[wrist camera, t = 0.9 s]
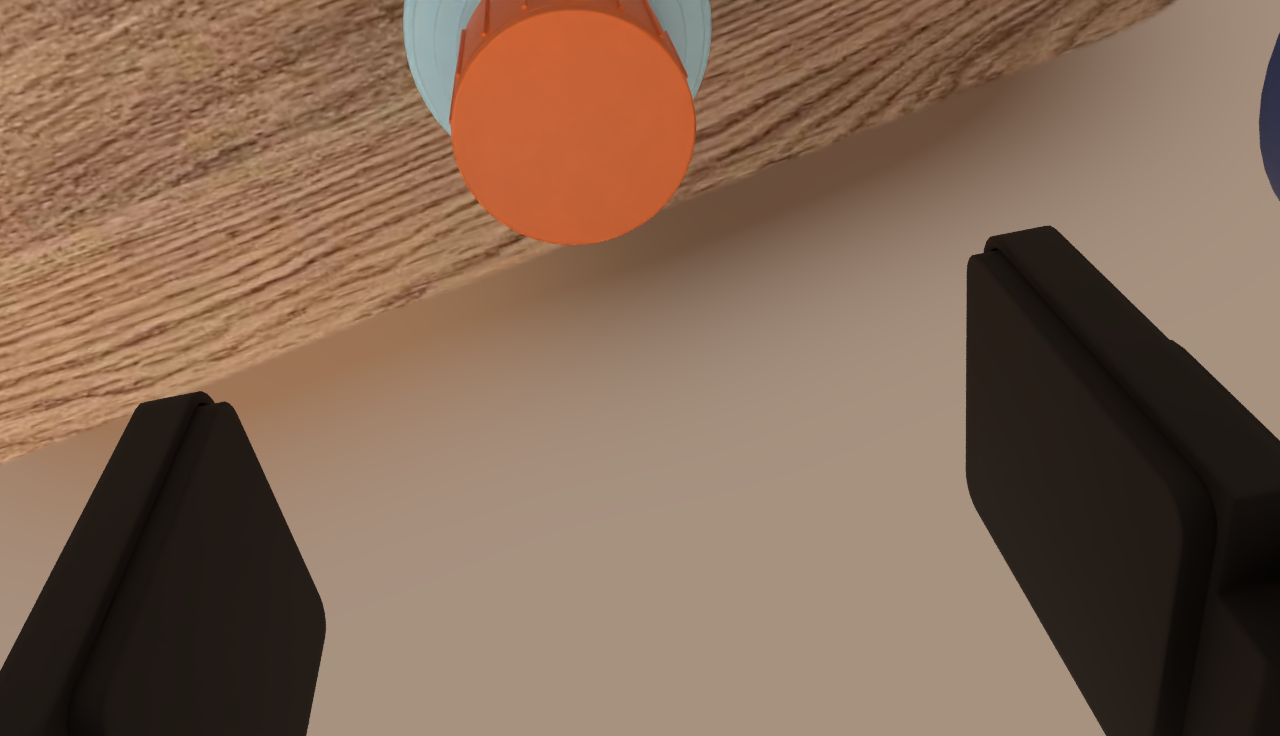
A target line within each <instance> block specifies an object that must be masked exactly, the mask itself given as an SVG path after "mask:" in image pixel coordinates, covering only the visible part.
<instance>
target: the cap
mask: <svg viewBox="0 0 1280 736" xmlns="http://www.w3.org/2000/svg"><path fill="white" fill-rule="evenodd" d="M686 78H688V75H687V72H686V70H685V68H684V66H683V64H682V62H681V60H680V58H679V55H678V53H677V51H676V49H675V47H674V45H673V43H672V41H671V39H670V37H669V34H668V32H667V30H666V31H663V29H662V26H661V24H660V22H659V20H658V18H657V17H656V15H655V13H654V11H653V10H652V8H651V6H650V4H649V2H648V0H481V2H480V3H479V5H478V6H477V7H476V9H475V10H474V12H473V14H472V16H471V18H470V20H469V22H468V23H467V26H466V29H465V30H464V29H462V31H461V36H460V44H459V51H458V59H457V66H456V72H455V78H454V85H453V93H452V100H451V108H450V115H449V124H451V138H452V146H453V151H454V156H455V159H456V162H457V165H458V168H459V171H460V173H461V175H462V177H463V179H464V181H465V183H466V185H467V187H468V188H469V190H470V191H471V193H472V194H473V195H474V197H475V198H476V199H477V201H478V202H479V203H480V204H481V205H482V206H483V207H484V208H485V210H487V211H488V212H489V213H490V214H491V215H492V216H493V217H495V218H496V219H497V220H498V221H500V222H501V223H503V224H504V225H506V226H507V227H509V228H511V229H513V230H515V231H517V232H518V233H520V234H522V235H525V236H528V237H530V238H533V239H536V240H539V241H544V242H548V243H553V244H563V245H584V244H591V243H598V242H602V241H606V240H610V239H613V238H616V237H618V236H621V235H623V234H626V233H628V232H629V231H631V230H633V229H635V228H637V227H639V226H640V225H642V224H643V223H645V222H646V221H648V220H649V219H650V218H652V217H653V216H654V215H655V214H656V213H657V212H658V211H659V210H660V209H662V208H663V207H664V205H665V204H666V203H667V202H668V201H669V200H670V198H671V197H672V196H673V195H674V193H675V192H676V190H677V189H678V187H679V186H680V184H681V182H682V180H683V178H684V176H685V174H686V172H687V170H688V167H689V164H690V161H691V158H692V155H693V150H694V145H695V136H696V116H695V108H694V103H693V98H692V94H691V91H690V88H689V86H688V83H687V80H686Z"/></svg>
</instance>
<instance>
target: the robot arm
mask: <svg viewBox="0 0 1280 736" xmlns="http://www.w3.org/2000/svg"><path fill="white" fill-rule="evenodd" d="M966 352H967V353H966V355H967V356H966V478H967V484H968V489H969V493H970V496H971V499H972V502H973V504H974V506H975V508H976V510H977V512H978V514H979V516H980V517H981V519H982V521H983V522H984V524H985V526H986V528H987V529H988V531H989V533H990V535H991V536H992V538H993V540H994V542H995V543H996V545H997V547H998V549H999V550H1000V552H1001V554H1002V555H1003V557H1004V559H1005V561H1006V562H1007V564H1008V566H1009V568H1010V569H1011V571H1012V573H1013V575H1014V576H1015V578H1016V580H1017V581H1018V583H1019V585H1020V587H1021V588H1022V590H1023V592H1024V594H1025V595H1026V597H1027V599H1028V601H1029V602H1030V604H1031V606H1032V608H1033V609H1034V611H1035V613H1036V614H1037V616H1038V618H1039V620H1040V622H1041V623H1042V625H1043V627H1044V629H1045V630H1046V632H1047V634H1048V635H1049V637H1050V639H1051V641H1052V642H1053V644H1054V646H1055V648H1056V649H1057V651H1058V653H1059V655H1060V656H1061V658H1062V660H1063V661H1064V663H1065V665H1066V667H1067V668H1068V670H1069V672H1070V674H1071V675H1072V677H1073V679H1074V681H1075V682H1076V684H1077V686H1078V688H1079V689H1080V691H1081V693H1082V694H1083V696H1084V698H1085V700H1086V701H1087V703H1088V705H1089V707H1090V708H1091V710H1092V712H1093V713H1094V715H1095V717H1096V718H1097V721H1098V722H1099V724H1100V726H1101V728H1102V729H1103V731H1104V733H1105V734H1106V736H1280V441H1279V440H1278V439H1277V438H1276V437H1275V436H1274V435H1273V434H1272V433H1271V432H1270V431H1269V430H1268V429H1267V428H1266V427H1265V426H1264V425H1263V424H1262V423H1261V422H1260V421H1259V420H1258V419H1257V418H1255V416H1254V415H1253V414H1252V413H1250V412H1249V411H1248V410H1247V409H1246V408H1245V407H1244V406H1243V405H1242V404H1241V403H1240V402H1239V401H1238V400H1237V399H1236V398H1235V397H1234V396H1233V395H1232V394H1231V393H1230V392H1229V391H1228V390H1227V389H1226V388H1225V387H1224V386H1223V385H1221V384H1220V383H1219V382H1218V381H1217V380H1216V379H1215V378H1214V377H1213V376H1212V375H1211V374H1210V373H1209V372H1208V371H1207V370H1206V369H1205V368H1204V367H1203V366H1202V365H1201V364H1200V363H1198V361H1197V360H1196V359H1195V358H1194V357H1193V356H1192V355H1190V354H1189V353H1188V352H1187V351H1186V350H1185V349H1184V348H1183V347H1181V346H1180V345H1178V344H1177V343H1176V342H1174V341H1173V340H1169V339H1168V338H1167V337H1166V336H1165V335H1164V334H1163V333H1162V332H1161V331H1160V330H1159V329H1158V328H1157V327H1156V326H1155V325H1154V324H1153V323H1152V322H1151V321H1150V320H1149V319H1148V318H1147V317H1146V316H1145V315H1144V314H1142V313H1141V312H1140V311H1139V310H1138V309H1137V308H1136V307H1135V306H1134V305H1133V304H1132V303H1131V302H1130V301H1129V300H1128V299H1127V298H1126V297H1125V296H1124V295H1123V294H1122V293H1121V292H1120V291H1119V290H1118V289H1117V288H1116V287H1115V286H1114V285H1113V284H1112V283H1111V282H1110V281H1109V280H1108V279H1107V278H1105V276H1103V275H1102V273H1100V272H1099V271H1098V270H1097V269H1096V268H1095V267H1094V266H1093V265H1092V264H1091V263H1090V262H1089V261H1088V260H1087V259H1086V258H1085V257H1084V256H1083V255H1082V254H1081V253H1080V252H1079V251H1078V250H1077V249H1076V248H1075V247H1074V246H1073V245H1072V244H1070V242H1069V241H1068V240H1066V239H1065V237H1063V236H1062V234H1060V233H1059V232H1058V231H1057V230H1056V229H1055V228H1053V227H1051V226H1043V227H1037V228H1033V229H1027V230H1022V231H1017V232H1012V233H1007V234H1002V235H997V236H992V237H990V238H989V239H988V240H987V242H986V245H985V248H984V253H982V254H977V255H972V256H971V257H970V258H969V261H968V265H967V341H966ZM325 633H326V621H325V612H324V608H323V603H322V601H321V598H320V595H319V593H318V591H317V589H316V587H315V584H314V582H313V580H312V578H311V576H310V573H309V571H308V569H307V567H306V565H305V563H304V560H303V558H302V556H301V554H300V551H299V549H298V547H297V545H296V543H295V541H294V538H293V536H292V534H291V532H290V529H289V527H288V525H287V523H286V521H285V518H284V516H283V514H282V512H281V510H280V507H279V505H278V503H277V501H276V499H275V496H274V494H273V492H272V490H271V488H270V485H269V483H268V481H267V479H266V476H265V474H264V472H263V470H262V468H261V465H260V463H259V461H258V459H257V457H256V454H255V452H254V450H253V448H252V446H251V444H250V441H249V439H248V437H247V435H246V432H245V430H244V428H243V426H242V424H241V422H240V419H239V417H238V415H237V413H236V412H235V410H234V408H233V407H232V406H231V405H230V404H229V403H227V402H220V403H214V401H213V400H212V399H211V397H210V396H209V395H208V394H206V393H204V392H202V391H199V392H194V393H189V394H184V395H179V396H174V397H168V398H163V399H158V400H153V401H148V402H144V403H141V404H140V405H139V406H138V407H137V408H136V409H135V411H134V413H133V415H132V417H131V419H130V421H129V423H128V425H127V427H126V429H125V431H124V433H123V435H122V436H121V438H120V440H119V442H118V444H117V446H116V448H115V450H114V452H113V454H112V456H111V458H110V460H109V462H108V464H107V465H106V467H105V470H104V471H103V473H102V475H101V477H100V479H99V481H98V483H97V485H96V487H95V489H94V491H93V493H92V495H91V496H90V498H89V500H88V503H87V504H86V506H85V508H84V510H83V512H82V514H81V516H80V518H79V520H78V522H77V524H76V526H75V528H74V529H73V531H72V533H71V535H70V537H69V539H68V541H67V543H66V545H65V547H64V549H63V551H62V553H61V554H60V557H59V558H58V560H57V562H56V565H55V566H54V568H53V570H52V572H51V574H50V576H49V578H48V580H47V582H46V583H45V585H44V587H43V590H42V591H41V593H40V595H39V597H38V599H37V601H36V603H35V605H34V607H33V609H32V611H31V613H30V615H29V616H28V619H27V620H26V622H25V624H24V626H23V628H22V630H21V632H20V634H19V636H18V638H17V640H16V641H15V644H14V645H13V647H12V649H11V651H10V653H9V655H8V657H7V659H6V661H5V663H4V665H3V667H2V669H1V671H0V736H306V734H307V728H308V724H309V718H310V713H311V708H312V702H313V697H314V692H315V687H316V681H317V677H318V671H319V666H320V661H321V656H322V650H323V644H324V640H325Z"/></svg>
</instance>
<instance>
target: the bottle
mask: <svg viewBox="0 0 1280 736" xmlns="http://www.w3.org/2000/svg"><path fill="white" fill-rule="evenodd" d="M480 2H481V0H405V2H404V15H403V32H404V44H405V50H406V54H407V59H408V64H409V67H410V70H411V73H412V76H413V79H414V81H415V84H416V86H417V88H418V90H419V92H420V94H421V96H422V98H423V100H424V102H425V104H426V105H427V107H428V108H429V110H430V111H431V113H432V114H433V116H434V117H435V119H436V120H437V121H438V122H439V124H440V125H441V126H442V127H443V128H444V129H445V130H446V132H447V133H448V134H449V135H450V136H451V124H449V115H450V108H451V100H452V93H453V85H454V78H455V72H456V66H457V59H458V51H459V44H460V36H461V31H462V29H464V30H465V29H466V26H467V23H468V22H469V20H470V18H471V16H472V14H473V12H474V10H475V9H476V7H477V6H478V5H479V3H480ZM648 2H649V4H650V6H651V8H652V10H653V11H654V13H655V15H656V17H657V18H658V20H659V22H660V24H661V26H662V29H663V31H666V30H667V32H668V34H669V37H670V39H671V41H672V43H673V45H674V47H675V49H676V51H677V53H678V55H679V58H680V60H681V62H682V64H683V66H684V68H685V70H686V72H687V75H688V78H686V80H687V83H688V86H689V88H690V91H691V94H692V98H693V100H694V97H695V95H696V93H697V91H698V89H699V87H700V85H701V82H702V79H703V76H704V73H705V70H706V67H707V62H708V57H709V52H710V45H711V31H712V23H711V7H710V2H709V0H648Z"/></svg>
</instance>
